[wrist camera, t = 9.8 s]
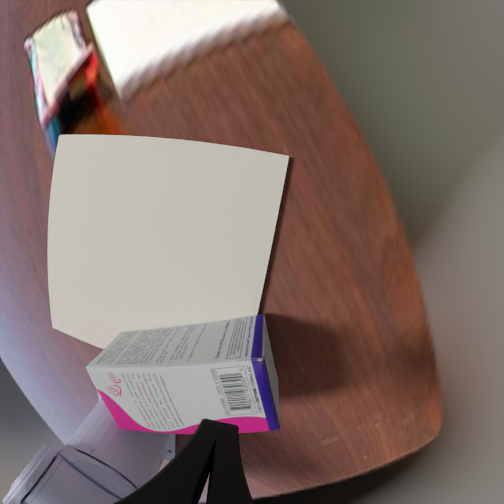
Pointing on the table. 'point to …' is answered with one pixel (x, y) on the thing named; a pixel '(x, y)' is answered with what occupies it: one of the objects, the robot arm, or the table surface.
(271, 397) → the supplement box
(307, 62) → the table surface
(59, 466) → the robot arm
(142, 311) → the grey mat
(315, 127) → the table surface
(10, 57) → the table surface
